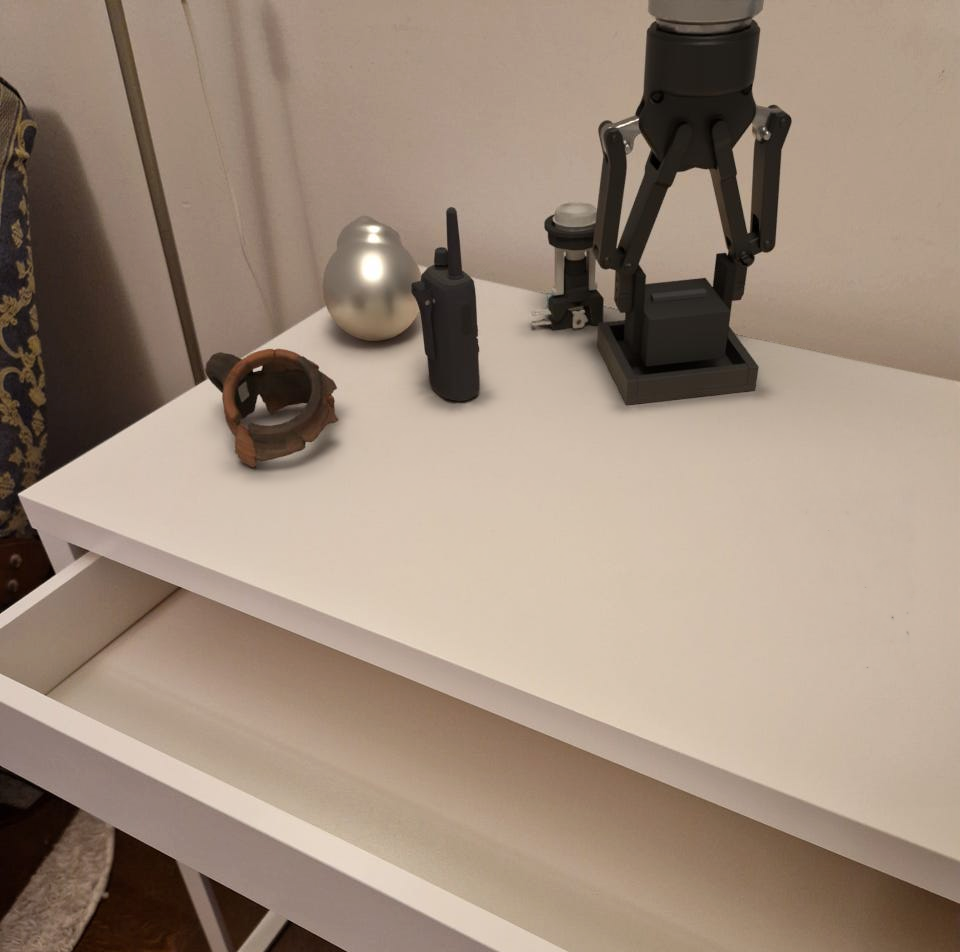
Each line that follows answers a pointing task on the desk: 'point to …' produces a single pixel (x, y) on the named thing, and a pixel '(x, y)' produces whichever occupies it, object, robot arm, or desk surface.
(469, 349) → the two-way radio
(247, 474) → the desk surface
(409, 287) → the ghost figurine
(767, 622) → the desk surface
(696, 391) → the base pad
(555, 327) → the push button
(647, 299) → the top pad
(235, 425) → the pottery mug
